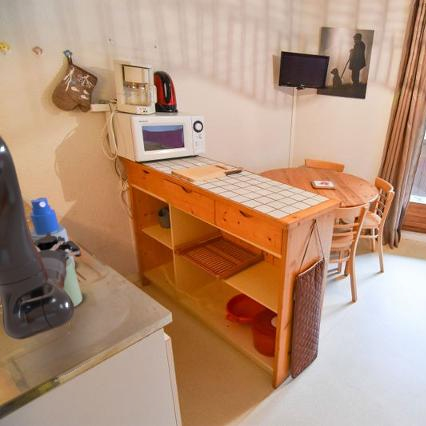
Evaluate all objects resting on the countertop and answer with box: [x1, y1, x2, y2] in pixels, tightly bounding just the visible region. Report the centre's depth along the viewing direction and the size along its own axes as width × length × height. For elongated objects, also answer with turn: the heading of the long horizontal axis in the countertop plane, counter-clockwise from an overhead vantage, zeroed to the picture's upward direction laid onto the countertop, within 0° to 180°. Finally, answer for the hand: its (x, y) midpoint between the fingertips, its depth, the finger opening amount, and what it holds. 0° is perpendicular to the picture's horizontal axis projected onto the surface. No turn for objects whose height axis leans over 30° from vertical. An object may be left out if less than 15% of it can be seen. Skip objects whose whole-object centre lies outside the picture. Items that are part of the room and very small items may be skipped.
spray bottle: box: [29, 197, 76, 268], centre depth 101 cm, size 9×9×25 cm
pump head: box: [37, 232, 58, 251], centre depth 86 cm, size 7×4×4 cm, turn 35°
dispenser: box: [64, 258, 83, 307], centre depth 89 cm, size 8×8×15 cm
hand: (49, 241), depth 86 cm, fingers closed on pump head, 4 cm apart
